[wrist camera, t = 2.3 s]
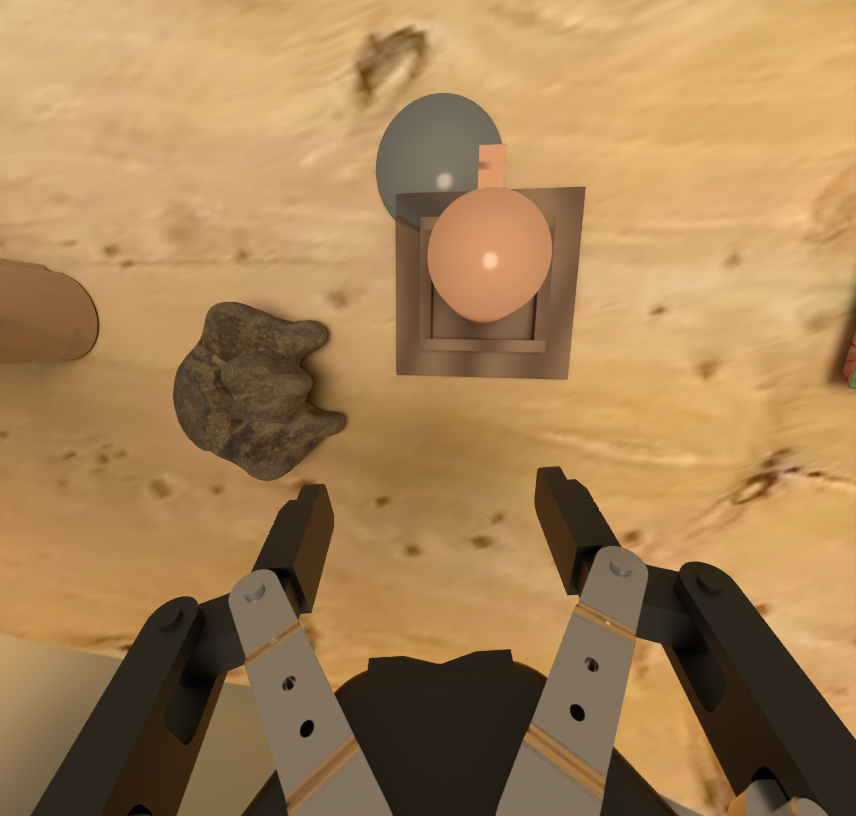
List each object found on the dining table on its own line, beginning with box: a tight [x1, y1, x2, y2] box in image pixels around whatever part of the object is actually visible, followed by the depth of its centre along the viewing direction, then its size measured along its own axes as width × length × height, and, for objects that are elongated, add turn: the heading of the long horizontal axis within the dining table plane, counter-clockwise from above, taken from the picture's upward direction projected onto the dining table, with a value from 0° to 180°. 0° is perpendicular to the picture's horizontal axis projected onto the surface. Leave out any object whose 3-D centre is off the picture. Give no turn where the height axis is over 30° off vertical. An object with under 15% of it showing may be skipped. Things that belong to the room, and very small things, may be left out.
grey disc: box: [376, 93, 502, 231], centre depth 31 cm, size 11×11×1 cm
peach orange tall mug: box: [427, 144, 552, 325], centre depth 25 cm, size 9×6×14 cm
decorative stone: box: [173, 302, 345, 481], centre depth 34 cm, size 16×11×15 cm
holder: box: [396, 187, 586, 379], centre depth 32 cm, size 16×16×2 cm
